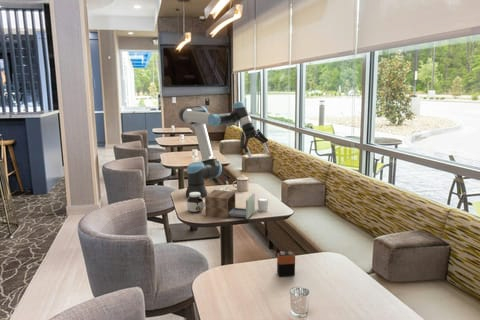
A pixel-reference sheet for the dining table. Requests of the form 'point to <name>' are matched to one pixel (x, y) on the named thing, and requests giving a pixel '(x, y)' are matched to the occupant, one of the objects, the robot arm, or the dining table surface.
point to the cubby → (219, 203)
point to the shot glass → (262, 204)
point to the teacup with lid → (242, 183)
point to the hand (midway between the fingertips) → (259, 154)
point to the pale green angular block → (244, 212)
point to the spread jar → (195, 202)
